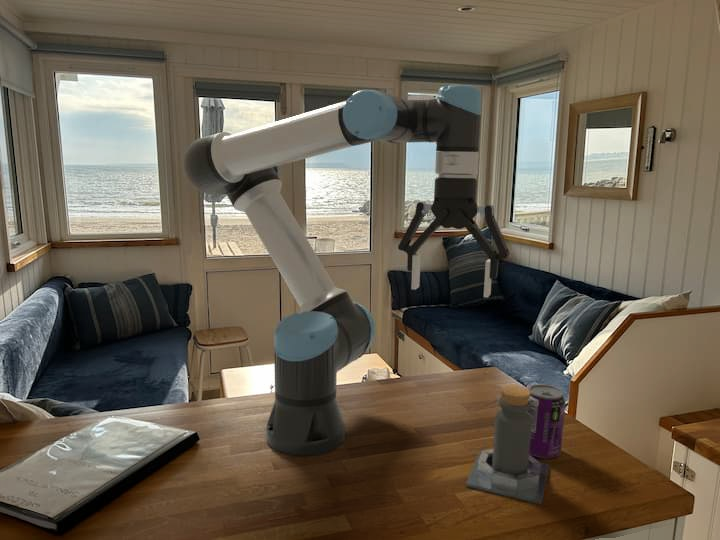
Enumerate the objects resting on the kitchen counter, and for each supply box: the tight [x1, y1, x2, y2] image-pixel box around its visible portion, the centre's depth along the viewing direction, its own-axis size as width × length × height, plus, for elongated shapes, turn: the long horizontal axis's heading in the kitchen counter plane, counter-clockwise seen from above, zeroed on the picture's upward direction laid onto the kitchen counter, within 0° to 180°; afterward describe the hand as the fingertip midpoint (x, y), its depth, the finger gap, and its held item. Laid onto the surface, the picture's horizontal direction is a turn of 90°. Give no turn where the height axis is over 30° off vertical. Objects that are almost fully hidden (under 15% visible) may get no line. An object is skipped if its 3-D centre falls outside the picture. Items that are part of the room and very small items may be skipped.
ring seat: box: [465, 448, 550, 505], centre depth 96 cm, size 12×12×3 cm
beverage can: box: [527, 383, 566, 459], centre depth 103 cm, size 7×7×12 cm
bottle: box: [492, 385, 532, 476], centre depth 94 cm, size 6×6×15 cm
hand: (450, 292), depth 105 cm, fingers open, 13 cm apart
